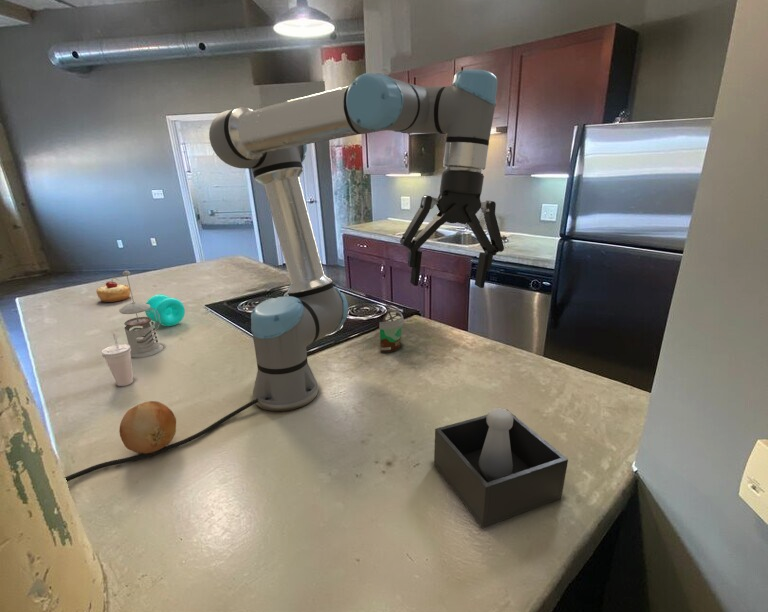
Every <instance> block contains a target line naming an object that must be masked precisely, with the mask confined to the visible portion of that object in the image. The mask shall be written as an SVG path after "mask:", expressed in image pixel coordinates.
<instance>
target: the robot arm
mask: <svg viewBox="0 0 768 612" xmlns="http://www.w3.org/2000/svg"><path fill="white" fill-rule="evenodd" d="M497 90H498V78H497V76H496V74H494V73H492V72H491V71H489V70H484V69H477V68H475V69H474V68H470V69H464V70H459V71H457V72H456V73H455V74H454V76H453V80H452V84H451V85H447V86H420V85H416V84H414V83H410V82H407V81H404V80H399V79H396V78H393V77H391V76H389V75H387V74H383V73H373V72H367V73H362V74H360V75H358V76H357V77H356V78H355V79H354V80H353V81H352V82H351V83H350V84H349V85H346V86H345V85H344V86H342V87H337V88H333V89H329V90H326V91H322V92H319V93H314V94H310V95H307V96H303V97H298V98H294V99H290V100H287V101H283V102H280V103H276V104H272V105H268V106H264V107H260V108H257V109H252V108H249V107H246V106H240V107H236V108H232V109H228V110H223V111H222V112H220V113H218V114H217V115H216V116H215V117H214V118H213V119H212V121H211V123H210V127H209V130H208V131H209V132H208V136H209V142H210V146H211V148H212V150H213V152H214V153H215V155H216V156H217V157H218V158H219V159H220V160H221V161H223V162H224V163H225V164H227V165H228V166H230V167H234V168H237V169H244V170H245V169H251V171H252V175H253V178H254V181H255V182H257V183H259V184H260V185H262V187H263V189H264V193H265V196H266V199H267V204H268V207H269V210H270V214H271V217H272V220H273V225H274V228H275V231H276V235H277V238H278V242H279V246H280V249H281V252H282V255H283V259H284V263H285V267H286V270H287V273H288V277H289V280H290V285H289V287H288V290H287V291H286V293H287V295H284V296H283V295H282V296H277V297H272V298H269V299H266V300H263V301H261V302H260V303H258V304H256V306H255V307H253V309H252V311H251V313H250V322H251V323H250V324H251V325H250V330H251V333H252V338H253V339H252V340H253V346H254V353H255V358H256V367H257V372H256V377H255V381H254V384H253V385H254V386H253V389H252V390H253V391H252V397H253V400H251V401H249V402H248V403H245V404H244V405H242V406H241V407H239V408H237V409H235V410H234V411H231V412H230V413H229V414H227V415H225V416H223V417H221V418H220V419H218V420H217V421H215V422H213V423H212V424H211V425H209V426H207V427H206V428H203V429H202V430H201V431H199V432H197V433H194V434H192V435H190V436H188V437H186V438H183V439H182V440H179V441H176V442H174V443H171V444H168V445H166V446H165V447H164V448H162V449H160V450H158V451H156V452H153V453H147V454H141V453H138V454H136V455H132V456H128V457H123V458H119V459H118V458H117V459H113V460H109V461H104V462H101V463H98V464H95V465H91V466H89V467H87V468H84V469H82V470H79V471H77V472H74V473H71V474H69V475H67V476H65V477H64V478H66V480H67V482H66V483H69V482H70V481H72V480H75V479H77V478H80V477H82V476H84V475H87V474H90V473H92V472H94V471H95V472H96V471H97V470H101V469H104V468H108V467H111V466H117V465H122V464H127V463H130V462H134V461H138V460H142V459H145V458H149V457H152V456H154V455H158V454H161V453H164V452H168V451H170V450H173V449H176V448H178V447H181V446H183V445H186V444H188V443H190V442H192V441H194V440H196V439H198V438H200V437H202V436H203V435H206V434H207V433H209V432H210V431H212V430H214V429H215V428H217V427H219V426H221V424H223V423H224V422H226V421H228V420H230V419H231V418H233V417H235V416H237V415H238V414H241V412H244V411H245V410H247V409H249V408H251V407H252V406H254V405H256V406H257V407H258V408H260V409H262V410H265V411H271V412H287V411H288V412H289V411H293V410H296V409H299V408H302V407H305V406H306V405H309V403H311V402H312V401H314V399H316V398H317V396H318V393H319V389H318V382H317V379H316V377H315V375H314V373H313V371H312V368H311V367H310V364H309V360H308V351H307V347H309V346H310V345H311V344H314V343H316V342H317V341H319V340H321V339H323V338H325V337H326V336H328V335H331V334H333V333H335V332H337V330H338V329H340V328H341V327H342V326H344V324H345V323H346V321H347V319H348V314H349V303H348V300H347V297H346V296H345V294H344V292H341V290H340V289H339V288H338V287H337V286H334V282H333V279H332V278H329V277H328V276H326V274H325V272H324V268H323V263H322V260H321V255H320V252H319V248H318V245H317V241H316V237H315V233H314V230H313V225H312V222H311V218H310V215H309V211H308V206H307V202H306V199H305V196H304V195H305V194H304V191H303V187H302V184H301V181H300V177H301V175H302V173H303V172H304V168H303V163H304V160H305V158H306V153H307V151H308V146H307V145H309V144H315V143H320V142H321V143H322V142H326V141H331V140H335V139H336V140H337V139H342V138H347V137H352V136H353V137H354V136H357V135H365V134H371V133H378V132H383V131H385V132H386V131H391V132H395V133H401V134H407V135H410V134H441V135H445V134H446V138H445V146H444V155H443V163H442V164H443V165H442V166H443V167H444V168H445V169H443V171H441V178H440V185H439V194H438V197H433V196H432V195H426V194H424V195H422V196H421V199H420V205H419V208H418V210H417V211H416V213H415V214H414V216H413V218H412V219H411V221H410V222H409V225H408V226H407V228H406V229H405V231H404V233H403V235H402V236H401V238H400V239H399V243H400V245H402V246H404V247H406V248H407V249H408V254H407V255H408V256H407V266H408V267H409V268H411V271H410V272H411V274H410V282H409V283H410V284H411V285H412V286H414V287H419V283H420V273H421V265H422V257H423V251H422V250H420V248H421V247H422V246H423V245H424V244H425V243H426V242H427V241H428V240H429V239H430V238H431V237H432V236H433V234H435V232H437V231H438V229H439V228H440V227H441V226H443V225H445V223H448V224H461V225H467V226H469V228H470V230H471V232H472V233H473V235H474V237H475V238H476V240H477V242H478V243H479V245H480V247H481V248H482V250H483V252H479V253H478V259H477V260H478V261H477V267H476V274H475V278H474V279H475V280H474V285H475V286H476V287H478V288H480V289H484V288H485V283H486V278H487V273H488V272H489V271H491V269H492V264H493V259H494V256H496V255H497V254H498V253H499V252H500V253H502V252H503V251H504V250H505V246H504V242H503V238H502V235H501V231H500V227H499V223H498V220H497V216H496V209H497V207H496V205H497V203H496V201H493V200H485V201H481V195H482V191H483V186H484V178H485V175H484V173H482V172H483V171H484V170H485V169H486V165H487V159H488V153H489V147H490V138H491V132H492V128H493V127H492V126H493V121H494V116H495V115H494V114H495V110H496V107H497V103H496V101H497ZM435 206H436V207H437V209H438V212H437V213H436V214H435V215H434V216H433V217H432V219H431V220H430V222H428V224H426V226H425V227H424V228H422V230H420V228H421V226H422V225H423V223H424V222H425V220H426V218H427V216H428V215H429V213H430V211H431V210H432V209H434V207H435ZM479 211H481V213H483V218H484V222H485V225H486V229H487V233H488V235H487V233H486V231H485V230H484V228H483V227H482V225H481V222H480V220H479V218H478V216H477V215H476V214H477V213H478V212H479ZM419 230H420V232H419V233H418V231H419ZM488 236H489V237H488ZM487 271H488V272H487Z"/></svg>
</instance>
